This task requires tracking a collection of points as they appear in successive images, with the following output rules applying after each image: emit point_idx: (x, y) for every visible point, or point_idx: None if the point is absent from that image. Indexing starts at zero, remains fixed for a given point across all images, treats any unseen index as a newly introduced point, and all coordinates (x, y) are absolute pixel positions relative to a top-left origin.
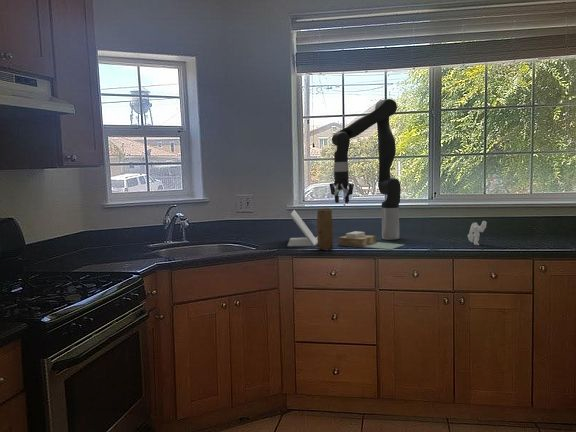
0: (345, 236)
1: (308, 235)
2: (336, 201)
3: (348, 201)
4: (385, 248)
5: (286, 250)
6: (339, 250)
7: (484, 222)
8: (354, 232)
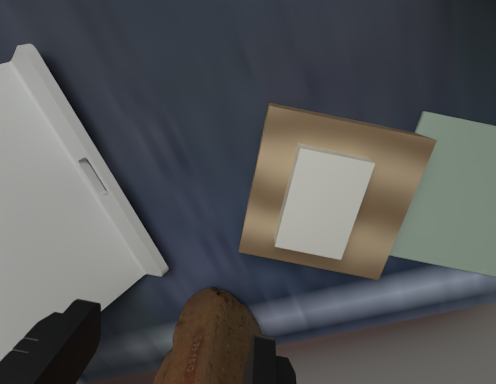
0: (261, 209)
1: (80, 272)
2: (85, 365)
3: (287, 373)
4: (483, 272)
5: (109, 371)
6: (293, 334)
7: None
8: (313, 198)
